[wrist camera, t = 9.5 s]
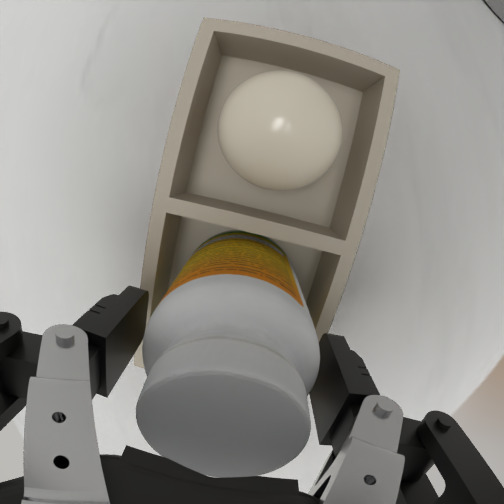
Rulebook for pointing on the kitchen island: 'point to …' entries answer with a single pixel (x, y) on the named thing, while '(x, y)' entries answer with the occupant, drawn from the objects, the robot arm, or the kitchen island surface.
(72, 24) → the kitchen island surface
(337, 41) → the kitchen island surface
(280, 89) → the egg
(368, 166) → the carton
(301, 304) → the supplement bottle
